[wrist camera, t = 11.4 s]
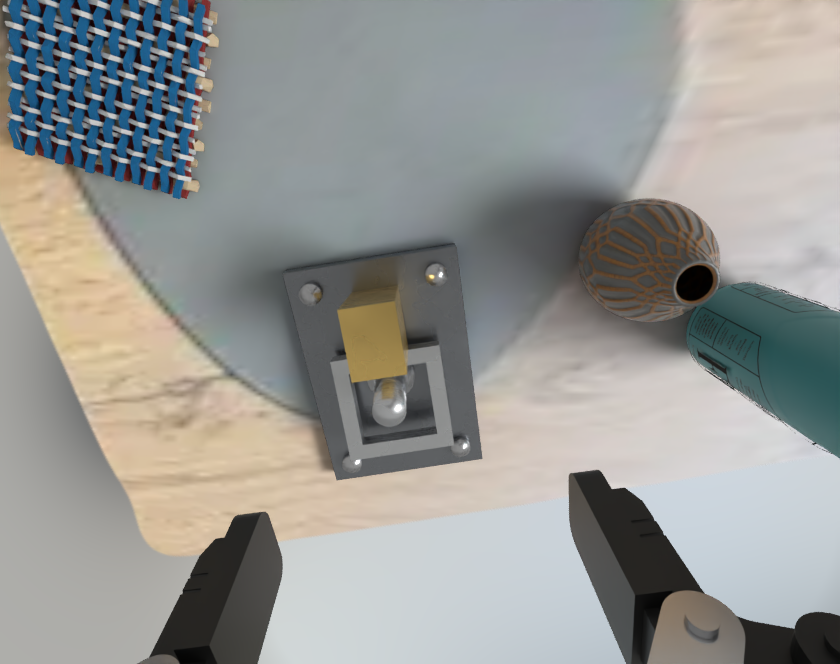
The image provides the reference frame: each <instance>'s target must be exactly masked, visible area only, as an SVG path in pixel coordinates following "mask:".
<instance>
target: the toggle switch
mask: <svg viewBox="0 0 840 664" xmlns="http://www.w3.org/2000/svg"><path fill="white" fill-rule="evenodd" d="M283 278H284V282H285V286H286V289H287V293H288V297H289V301H290V305H291V308H292V312H293V316H294V320H295V324H296V327H297V331H298V335H299V339H300V343H301V346H302V350H303V354H304V358H305V362H306V365H307V369H308V373H309V377H310V381H311V384H312V388H313V392H314V396H315V400H316V403H317V407H318V411H319V415H320V419H321V422H322V426H323V430H324V434H325V438H326V441H327V445H328V449H329V453H330V457H331V460H332V464H333V468H334V472H335V476H336V479H337V480H342V479H349V478H356V477H363V476H369V475H376V474H383V473H390V472H396V471H403V470H410V469H417V468H423V467H430V466H437V465H444V464H450V463H457V462H464V461H471V460H477V459H482V452H481V443H480V435H479V427H478V419H477V411H476V403H475V394H474V386H473V378H472V370H471V362H470V354H469V345H468V337H467V329H466V321H465V313H464V305H463V296H462V288H461V280H460V272H459V264H458V255H457V247H456V245H455V244H449V245H442V246H436V247H430V248H423V249H417V250H411V251H404V252H398V253H392V254H385V255H379V256H373V257H366V258H360V259H353V260H347V261H341V262H334V263H328V264H322V265H315V266H309V267H303V268H296V269H290V270H286V271H285V272H284V273H283ZM396 285H398V288H399V294H400V300H401V306H402V312H403V318H404V324H405V330H406V336H407V342H408V345H412V344H418V343H424V342H431V341H437V340H438V342H439V347H440V354H441V360H442V367H443V373H444V380H445V387H446V393H447V400H448V407H449V413H450V420H451V426H452V433H453V440H454V445H453V446H446V447H440V448H433V449H426V450H420V451H413V452H407V453H400V454H393V455H387V456H380V457H373V458H367V459H360V460H353V461H351V459H350V454H349V450H348V445H347V440H346V435H345V431H344V426H343V421H342V416H341V412H340V407H339V402H338V397H337V392H336V388H335V383H334V378H333V373H332V369H331V364H330V361H331V360H332V358H333V357H334V356H340V355H346V352H345V347H344V342H343V337H342V332H341V327H340V322H339V317H338V312H337V310H338V309H339V307H340V306H341V305H342V304H343V302H344V301H345V300H346V299H347V298H348V296H349V295H350V294H351V293H352V292H358V291H364V290H371V289H377V288H383V287H390V286H396ZM354 386H355V391H356V396H357V401H358V406H359V411H360V416H361V421H362V426H363V431H364V436H365V437H368V436H374V435H381V434H388V433H394V432H401V431H407V430H414V429H421V428H427V427H434V426H436V422H435V416H434V410H433V404H432V397H431V391H430V385H429V378H428V372H427V366H426V363H420V364H413V365H408V366H407V375H400V376H394V377H387V378H381V379H374V380H368V381H361V382H354Z"/></svg>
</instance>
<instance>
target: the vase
mask: <svg viewBox="0 0 840 664" xmlns="http://www.w3.org/2000/svg"><path fill="white" fill-rule="evenodd" d="M719 266H720V252H719V247H718V243H717V240H716V238H715V236H714V234H713V232H712V230H711V229H710V228H709V226H708V225H707V224H706V223H705V222H704V220H703V219H701V218H700V217H699V216H698V215H697V214H696V213H694V212H693V211H691V210H690V209H688V208H686V207H684V206H682V205H680V204H677V203H675V202H671V201H667V200H661V199H637V200H632V201H628V202H625V203H622V204H619V205H617V206H615V207H613V208H611V209H610V210H608V211H606V212H605V213H603V214H602V215H601V216H600V217H599V218H598V219H596V221H595V222H594V223H593V224H592V225H591V226H590V228H589V229H588V231H587V232H586V234H585V236H584V238H583V241H582V243H581V247H580V251H579V270H580V275H581V278H582V281H583V283H584V285H585V287H586V289H587V290H588V292H589V293H590V295H591V296H592V297H593V298H594V299H595V300H596V301H597V302H598V303H599V304H600V305H601V306H603V307H604V308H605V309H607V310H608V311H610V312H612V313H613V314H615V315H618V316H620V317H623V318H626V319H630V320H635V321H642V322H657V321H664V320H669V319H672V318H675V317H678V316H680V315H682V314H684V313H686V312H688V311H690V310H691V309H693V308H694V307H696V306H699V305H702V304H704V303H705V302H707V301H708V300H710V299H711V298H712V297H713V295H714V294H715V293H716V291H717V289H718V287H719V284H720V272H719Z"/></svg>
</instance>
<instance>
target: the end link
mask: <svg viewBox="0 0 840 664" xmlns="http://www.w3.org/2000/svg"><path fill="white" fill-rule="evenodd" d="M337 312H338V317H339V322H340V327H341V332H342V337H343V342H344V347H345V352H346V355H340V356H334V357H333V358H332V360H331V361H330V364H331V369H332V373H333V378H334V383H335V388H336V392H337V397H338V402H339V407H340V412H341V416H342V421H343V426H344V431H345V435H346V440H347V445H348V450H349V454H350V459H351V461H353V460H360V459H367V458H373V457H380V456H387V455H393V454H400V453H407V452H413V451H420V450H426V449H433V448H440V447H446V446H453V445H454V440H453V433H452V426H451V420H450V413H449V407H448V400H447V393H446V387H445V380H444V373H443V367H442V360H441V354H440V347H439V342H438V340H437V341H431V342H424V343H418V344H412V345H408V342H407V336H406V330H405V324H404V318H403V312H402V306H401V300H400V294H399V288H398V285H396V286H390V287H383V288H377V289H371V290H364V291H358V292H352V293H351V294H350V295H349V296H348V298H347V299H346V300H345V301H344V302H343V304H342V305H341V306H340V307H339V309H338V310H337ZM420 363H426V366H427V372H428V378H429V385H430V391H431V397H432V404H433V410H434V416H435V422H436V426H434V427H427V428H421V429H414V430H407V431H401V432H394V433H388V434H381V435H374V436H368V437H365V436H364V431H363V426H362V421H361V416H360V411H359V406H358V401H357V396H356V391H355V386H354V382H361V381H368V380H374V379H381V378H387V377H394V376H400V375H407V366H408V365H413V364H420Z"/></svg>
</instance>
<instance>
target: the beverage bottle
mask: <svg viewBox="0 0 840 664" xmlns="http://www.w3.org/2000/svg"><path fill="white" fill-rule="evenodd" d="M759 283H760V282H759ZM762 284H763V283H762ZM765 285H766V284H765ZM768 286H770V285H768ZM771 287H772V286H771ZM773 288H774V287H773ZM777 289H778V288H777ZM781 290H782V289H781ZM781 290H773V289H771V288H768V287H765V286H762V285H759V284H756V283H755V284H753V283H746V282H743V283H738V284H732V285H728V286H725V287H722V288H720V289H718V290H717V291H716V293H715V294H714V295H713V297H712V298H711V299H710V300H708V301H707V302H705V303H704V304H702V305H699V306H697V307H696V309H695V310H694V312H693V313H692V315H691V317H690V320H689V323H688V326H687V333H686V339H687V345H688V347H689V350H690V353H692V354H691V356H692V355H693V356H694V358H695V359H696V360H697V363H698V364H699V363H700V364H701V365H703V366H704V367H705V368H707V369H708V370H710V371H711V372H713V374H716V375H717V377H720V378H721V379H719V378H717V377H716V376H715V375H713V374H712V373H710V372H709V371H707V370H706V369H705V371H707V372H709V373H710V374H712V375H713V376H714V377H716V378H717V379H719V380H720V381H722V382H723V380H724V382H723V383H724V384H726V382H727V384H728V383H729V385H730V386H732V387H730V386H729V385H727V384H726V385H727V386H729V387H730V388H732V389H733V390H734V388H735V389H737V390H738V391H740V392H742V393H743V394H745V395H746V397H747V396H748V397H749V399H750V398H751V399H752V400H751V399H750V400H751V401H755V402H756V403H757V404H759V405H761V407H760V408H761V409H762V408H763V407H764V408H763V411H764V412H766V411H767V410H768V411H769V412H771V413H772V414H774V415H775V416H776V418H777V419H778V418H779V419H780V420H783V421H784V422H785V423H787V424H788V425H790V426H791V427H793V428H794V429H796V430H797V431H799V432H800V433H802V434H803V435H804V436H806V437H807V438H809V439H810V440H812V441H813V442H815V443H813V445H814V444H818V445H820V446H822V447H824V448H825V449H827V450H828V451H830V452H831V454H834V455H835V456H837V457H838V458H840V313H839V312H837V311H834V310H831V309H829V308H828V307H824V306H825V305H824V304H823V305H824V306H821V305H818V304H815V303H813V302H810V301H808V300H809V299H808V300H807V299H806V298H804V299H806V300H804V299H801V298H798V297H795V296H792V295H790V294H789V295H788V294H785V293H782V291H785V290H782V291H781ZM779 291H781V292H779ZM785 292H786V291H785ZM786 293H789V292H788V291H787V292H786ZM791 294H792V293H791ZM794 295H795V294H794ZM797 296H798V295H797ZM802 298H803V297H802ZM811 301H812V300H811ZM813 301H814V300H813ZM814 302H815V301H814ZM816 302H817V301H816ZM817 303H820V302H817ZM820 304H821V303H820ZM826 306H827V305H826ZM837 310H839V309H837ZM839 311H840V310H839ZM694 361H695V360H694ZM700 364H699V365H700ZM722 379H723V380H722ZM725 381H726V382H725ZM734 391H735V390H734ZM740 392H739V393H740ZM739 393H738V394H739ZM741 395H742V394H741ZM742 396H743V395H742ZM746 397H745V398H746ZM746 399H747V398H746ZM749 399H747V400H749ZM750 400H749V401H750ZM756 403H755V404H756ZM755 404H754V405H755ZM757 404H756V405H757ZM758 408H759V407H758ZM764 409H766V410H764ZM768 411H767V412H768ZM769 412H768V413H769ZM771 413H769V414H771ZM771 416H773V415H771ZM775 416H774V419H775ZM777 419H776V420H777ZM784 422H782V423H784ZM789 429H790V428H789ZM794 433H795V432H794ZM814 446H815V445H814ZM816 447H817V446H816ZM820 449H821V448H820ZM822 450H823V449H822ZM824 451H825V450H824ZM828 451H827V452H828ZM830 452H829V453H830Z"/></svg>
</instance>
